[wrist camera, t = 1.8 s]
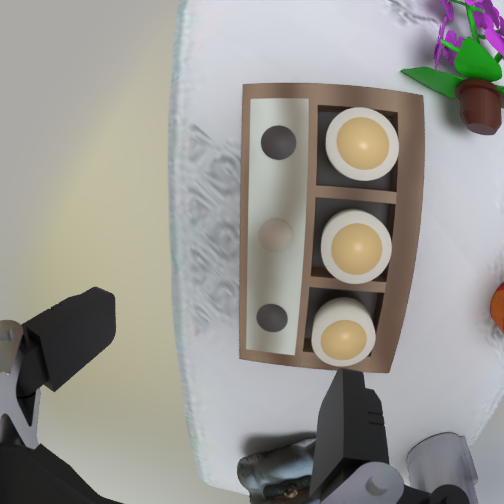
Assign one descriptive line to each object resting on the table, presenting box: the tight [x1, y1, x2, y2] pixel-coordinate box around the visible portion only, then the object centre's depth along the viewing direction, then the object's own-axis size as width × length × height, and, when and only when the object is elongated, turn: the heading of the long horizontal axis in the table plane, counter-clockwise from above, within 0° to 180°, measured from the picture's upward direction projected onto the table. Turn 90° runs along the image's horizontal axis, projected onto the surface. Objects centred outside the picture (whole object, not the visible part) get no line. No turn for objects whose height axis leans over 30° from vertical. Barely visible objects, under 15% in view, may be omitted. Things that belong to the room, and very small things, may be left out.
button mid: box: [321, 208, 392, 284], centre depth 23 cm, size 6×6×3 cm
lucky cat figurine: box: [237, 438, 320, 504], centre depth 31 cm, size 15×12×14 cm
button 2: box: [312, 297, 376, 367], centre depth 25 cm, size 6×6×3 cm
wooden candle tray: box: [239, 83, 425, 373], centre depth 26 cm, size 16×27×3 cm, turn 179°
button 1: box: [326, 107, 399, 181], centre depth 21 cm, size 6×6×3 cm
